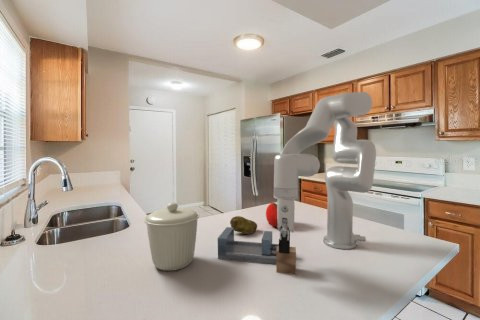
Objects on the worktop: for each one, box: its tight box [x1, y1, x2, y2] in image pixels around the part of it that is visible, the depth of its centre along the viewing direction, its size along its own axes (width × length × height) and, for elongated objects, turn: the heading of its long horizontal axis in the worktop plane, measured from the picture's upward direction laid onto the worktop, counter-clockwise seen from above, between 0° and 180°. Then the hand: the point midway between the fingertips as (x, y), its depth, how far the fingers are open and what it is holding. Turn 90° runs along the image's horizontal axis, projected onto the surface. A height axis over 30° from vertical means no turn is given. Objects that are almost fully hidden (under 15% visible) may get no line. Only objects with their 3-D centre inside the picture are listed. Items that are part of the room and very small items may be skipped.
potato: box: [229, 215, 258, 235], centre depth 108 cm, size 8×13×8 cm, turn 94°
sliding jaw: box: [261, 230, 277, 256], centre depth 84 cm, size 10×9×6 cm
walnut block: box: [275, 246, 297, 275], centre depth 75 cm, size 6×4×7 cm, turn 77°
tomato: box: [265, 202, 278, 229], centre depth 117 cm, size 13×14×12 cm
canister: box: [143, 202, 200, 272], centre depth 79 cm, size 18×18×21 cm
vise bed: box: [217, 226, 279, 265], centre depth 86 cm, size 21×12×8 cm, turn 78°
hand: (284, 246), depth 74 cm, fingers open, 9 cm apart
